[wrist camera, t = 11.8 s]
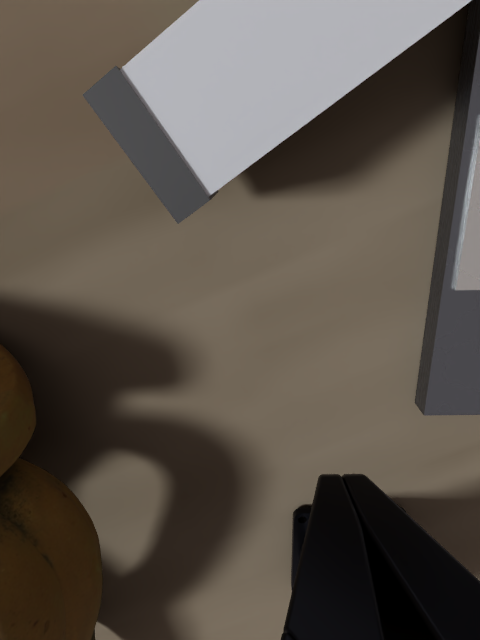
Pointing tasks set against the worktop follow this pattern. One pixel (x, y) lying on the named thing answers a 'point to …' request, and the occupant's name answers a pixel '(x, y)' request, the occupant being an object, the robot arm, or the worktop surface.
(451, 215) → the label board
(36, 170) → the worktop surface
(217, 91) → the swing arm
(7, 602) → the brown looped sculpture
